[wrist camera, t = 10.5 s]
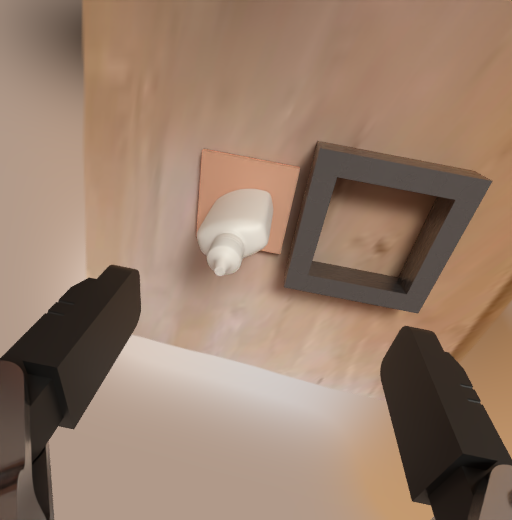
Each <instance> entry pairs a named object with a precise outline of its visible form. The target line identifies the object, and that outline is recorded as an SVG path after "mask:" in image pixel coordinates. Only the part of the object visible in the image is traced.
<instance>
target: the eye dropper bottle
mask: <svg viewBox="0 0 512 520" xmlns="http://www.w3.org/2000/svg"><path fill="white" fill-rule="evenodd" d="M272 216H273V203H272V198H271V195H270V193H268V192H267V191H264V190H259V189H239V190H235V191H232V192H229V193H227V194H225V195H223V196H221V197H220V198H218V199H217V200H216V201H215V203H214V204H213V206H212V208H211V209H210V211H209V213H208V214H207V216H206V217H205V219H204V221H203V223H202V224H201V226H200V228H199V230H198V231H197V240H198V244H199V247H200V249H201V251H202V253H203V254H205V255H206V256H207V263H208V265H209V266H210V268H211V269H212V270H213V271H214V272H215V274H216V275H217V276H223V275H230V274H233V273H235V272H236V271H237V270H238V269H239V267H240V266H241V262H242V259H243V258H245V257H248V256H251V255H253V254H255V253H257V252H258V251H260V250H262V249H263V248H264V247H265V246H266V245H267V244H268V240H269V235H270V229H271V223H272Z"/></svg>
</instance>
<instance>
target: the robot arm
mask: <svg viewBox="0 0 512 520" xmlns="http://www.w3.org/2000/svg"><path fill="white" fill-rule="evenodd" d="M140 312H141V298H140V275H139V271H138V270H136V269H131V268H126V267H122V266H117V265H110V266H109V267H107V269H106V270H105V271H104V272H103V273H102V274H101V275H100V276H99V277H98V278H97V279H93V278H88V279H86V280H84V281H82V282H80V283H78V284H76V285H74V286H72V287H71V288H70V289H69V290H68V291H67V292H66V293H65V294H64V295H63V296H62V297H61V298H60V299H59V302H58V303H57V302H56V303H55V304H54V305H53V306H52V307H51V308H50V309H49V310H48V313H47V314H44V315H43V316H42V317H41V318H40V319H39V320H38V321H37V322H36V323H35V324H34V325H33V326H32V327H31V328H30V329H29V330H28V332H26V333H25V334H24V335H23V336H22V337H21V338H20V339H19V340H18V341H17V342H16V343H15V344H14V345H13V346H12V347H11V348H10V349H9V350H8V351H7V352H6V353H5V354H4V355H3V356H2V357H1V358H0V520H54V510H53V495H52V481H51V466H50V453H49V442H48V441H49V439H50V438H51V436H52V435H53V433H54V432H55V430H56V428H57V427H58V426H61V427H65V428H70V429H74V428H75V427H76V425H77V423H78V422H79V420H80V418H81V417H82V415H83V413H84V412H85V410H86V409H87V407H88V405H89V404H90V402H91V400H92V399H93V397H94V395H95V394H96V392H97V390H98V389H99V387H100V385H101V384H102V382H103V380H104V379H105V377H106V376H107V374H108V372H109V371H110V369H111V367H112V366H113V364H114V362H115V361H116V359H117V357H118V355H119V354H120V352H121V351H122V349H123V347H124V346H125V344H126V343H127V341H128V339H129V337H130V336H131V334H132V333H133V331H134V329H135V328H136V326H137V323H138V320H139V317H140ZM380 375H381V382H382V385H383V389H384V393H385V397H386V401H387V405H388V409H389V413H390V416H391V421H392V424H393V428H394V432H395V436H396V440H397V444H398V448H399V452H400V455H401V460H402V463H403V467H404V471H405V475H406V479H407V483H408V486H409V491H410V495H411V499H412V501H413V502H418V503H423V504H427V505H431V507H432V510H433V514H434V517H433V518H432V519H431V520H512V459H511V457H510V455H509V453H508V451H507V450H506V448H505V446H504V444H503V442H502V440H501V438H500V436H499V435H498V433H497V431H496V429H495V427H494V425H493V423H492V421H491V419H490V418H489V416H488V414H487V412H486V410H485V408H484V406H483V405H481V404H480V399H479V397H478V395H477V393H476V391H475V390H473V389H472V387H473V386H472V384H471V382H470V380H469V378H468V376H467V374H466V372H465V371H464V369H463V368H462V367H461V366H460V364H459V363H458V362H457V361H456V360H455V359H454V358H453V357H452V356H451V355H450V354H449V353H448V352H444V350H443V348H442V346H441V344H440V342H439V340H438V338H437V336H436V335H435V333H434V332H432V331H429V330H424V329H419V328H414V327H409V326H404V327H402V328H401V330H400V331H399V333H398V335H397V336H396V338H395V340H394V341H393V343H392V345H391V346H390V348H389V350H388V352H387V353H386V355H385V357H384V358H383V361H382V364H381V371H380Z"/></svg>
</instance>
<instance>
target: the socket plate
mask: <svg viewBox="0 0 512 520" xmlns="http://www.w3.org/2000/svg"><path fill="white" fill-rule="evenodd" d="M337 177H339V178H344V179H349V180H355V181H360V182H365V183H370V184H376V185H381V186H386V187H391V188H396V189H402V190H407V191H412V192H417V193H422V194H428V195H433V196H438V197H437V199H436V201H435V203H434V205H433V207H432V209H431V211H430V213H429V215H428V217H427V219H426V221H425V224H424V226H423V228H422V230H421V232H420V234H419V236H418V238H417V240H416V242H415V244H414V246H413V248H412V251H411V253H410V255H409V257H408V259H407V261H406V263H405V265H404V267H403V269H402V271H401V273H400V275H399V278H398V277H393V276H387V275H382V274H377V273H372V272H367V271H362V270H356V269H351V268H346V267H341V266H336V265H331V264H326V263H320V262H315V261H312V260H313V256H314V253H315V250H316V246H317V243H318V240H319V236H320V233H321V230H322V226H323V223H324V220H325V216H326V213H327V210H328V206H329V203H330V199H331V196H332V193H333V189H334V186H335V183H336V179H337ZM491 183H492V181H491V180H490V179H488V178H486V177H484V176H482V175H481V174H479V173H477V172H475V171H472V170H466V169H461V168H456V167H451V166H445V165H440V164H435V163H430V162H424V161H419V160H414V159H409V158H404V157H398V156H393V155H388V154H383V153H377V152H372V151H367V150H362V149H356V148H351V147H346V146H341V145H336V144H330V143H325V142H320V141H318V142H317V145H316V149H315V153H314V157H313V161H312V165H311V169H310V173H309V177H308V181H307V185H306V189H305V193H304V197H303V201H302V205H301V209H300V213H299V217H298V221H297V225H296V229H295V233H294V237H293V241H292V245H291V249H290V253H289V257H288V261H287V265H286V269H285V278H284V287H285V288H290V289H295V290H300V291H306V292H311V293H316V294H321V295H326V296H331V297H336V298H342V299H347V300H352V301H357V302H362V303H367V304H372V305H377V306H383V307H388V308H393V309H398V310H403V311H408V312H413V313H419V311H420V309H421V308H422V306H423V304H424V302H425V300H426V299H427V297H428V295H429V293H430V291H431V290H432V288H433V286H434V284H435V283H436V281H437V279H438V277H439V275H440V274H441V272H442V270H443V268H444V267H445V265H446V263H447V261H448V259H449V258H450V256H451V254H452V252H453V251H454V249H455V247H456V245H457V243H458V242H459V240H460V238H461V236H462V234H463V233H464V231H465V229H466V227H467V226H468V224H469V222H470V220H471V218H472V217H473V215H474V213H475V211H476V210H477V208H478V206H479V204H480V202H481V201H482V199H483V197H484V195H485V194H486V192H487V190H488V188H489V186H490V185H491Z"/></svg>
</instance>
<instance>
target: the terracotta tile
mask: <svg viewBox="0 0 512 520" xmlns="http://www.w3.org/2000/svg"><path fill="white" fill-rule="evenodd" d="M299 172H300V167H297V166H292V165H287V164H281V163H276V162H271V161H266V160H260V159H255V158H250V157H245V156H240V155H234V154H229V153H224V152H219V151H214V150H208V149H203V150H202V159H201V173H200V187H199V202H198V216H197V230H196V238H197V231H198V230H199V228H200V226H201V224H202V223H203V221H204V219H205V217H206V216H207V214H208V213H209V211H210V209H211V208H212V206H213V204H214V203H215V201H216V200H217V199H218V198H220V197H221V196H223V195H225V194H227V193H229V192H232V191H235V190H239V189H259V190H264V191H267V192H268V193H270V195H271V198H272V203H273V216H272V223H271V229H270V235H269V240H268V244H267V245H266V246H265V247H264V248H263V249H262V250H261V251H266V252H271V253H276V254H280V253H281V249H282V244H283V240H284V236H285V232H286V227H287V223H288V219H289V214H290V210H291V206H292V202H293V197H294V193H295V189H296V184H297V180H298V176H299Z"/></svg>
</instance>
